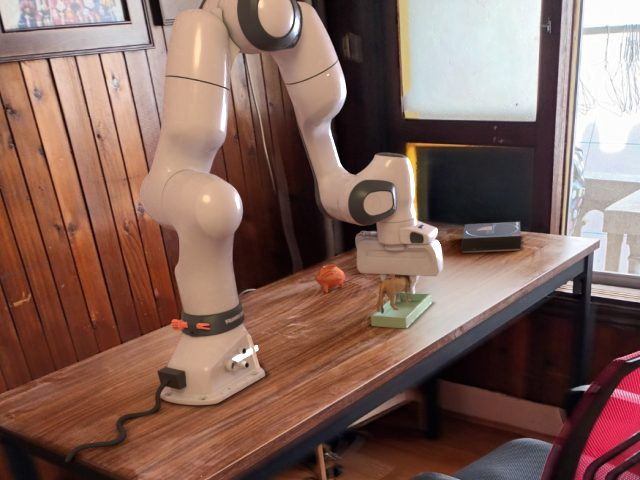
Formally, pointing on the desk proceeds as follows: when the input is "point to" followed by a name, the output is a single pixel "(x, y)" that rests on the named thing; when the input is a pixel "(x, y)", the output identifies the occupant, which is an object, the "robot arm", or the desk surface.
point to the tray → (402, 311)
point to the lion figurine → (393, 290)
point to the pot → (330, 277)
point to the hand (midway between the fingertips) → (401, 293)
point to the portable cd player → (491, 237)
